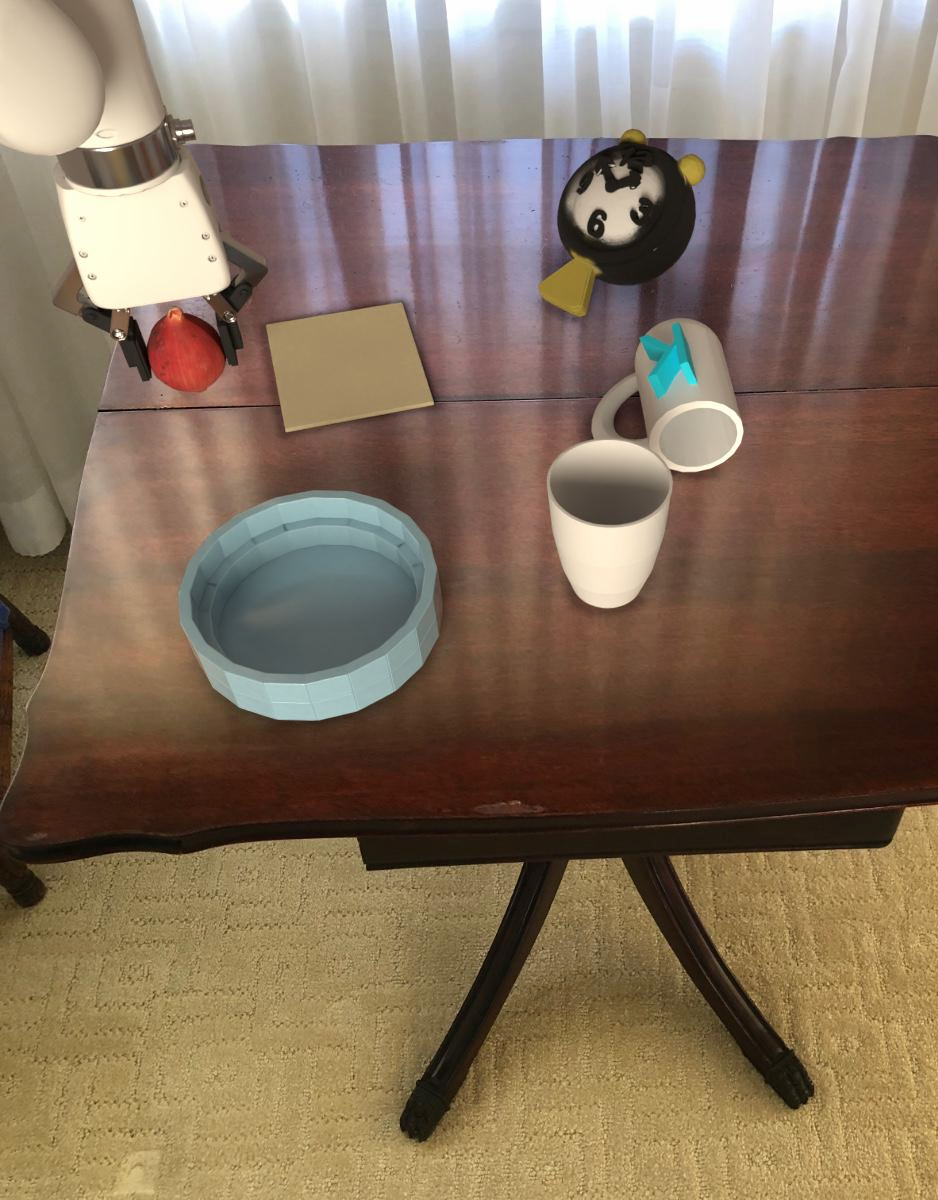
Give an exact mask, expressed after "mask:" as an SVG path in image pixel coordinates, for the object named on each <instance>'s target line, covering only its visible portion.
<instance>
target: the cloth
mask: <svg viewBox="0 0 938 1200" xmlns="http://www.w3.org/2000/svg"><path fill="white" fill-rule="evenodd" d="M265 328H266V333H267V334H266V335H267V339H268V345H269V349H270V357H271V361H272V366H273V372H274V377H275V383H276V388H277V392H278V399H279V404H280V409H281V415H282V419H283V420H282V421H283V426H284V430H285V433H289V432H291V433H292V432H296V431H301V430H307V429H313V428H318V427H322V426H327V425H333V424H339V423H345V422H349V421H355V420H360V419H361V420H362V419H366V418H371V417H377V416H381V415H387V414H388V415H389V414H393V413H398V412H402V411H410V410H415V409H421V408H425V407H431V406H434V405H435V402H434V399H433V398H434V397H433V395H432V392H431V389H430V386H429V382H428V379H427V377H426V373H425V370H424V367H423V363H422V360H421V358H420V354H419V350H418V348H417V345H416V341H415V339H414V335H413V332H412V328H411V326H410V322H409V319H408V316H407V313H406V309H405V307H404V304H403V301H400V302H394V303H388V304H381V305H375V306H369V307H364V308H363V307H362V308H358V309H352V310H346V311H339V312H333V313H329V314H328V313H327V314H322V315H315V316H310V317H309V316H308V317H305V318H298V319H291V320H286V321H279V322H273V323H267V324H265Z"/></svg>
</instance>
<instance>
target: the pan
mask: <svg viewBox="0 0 938 1200" xmlns="http://www.w3.org/2000/svg"><path fill="white" fill-rule="evenodd" d="M441 590H442V589H441V584H440V578H439V570H438V566H437V562H436V558H435V555H434V552H433V548H432V544H431V541H430V539H429V538H428V536H426V534H425V533H424V532H423V530H422V529H421V528H420V527H419V526H418V524H417V523H416V521H415V520H414V519H413V518H412V517H411V516H410V515H408V514H407V513H405V512H403V511H402V510H400V509H398V508H397V507H395V506H394V505H392V504H391V503H388V502H387V501H385V500H383V499H381V498H377V497H375V496H370V495H367V494H362V493H359V492H356V491H351V490H330V489H329V490H327V489H326V490H324V489H321V490H320V489H312V490H306V491H301V492H296V493H290V494H286V495H281V496H276V497H272V498H270V499H268V500H265V501H263V502H261V503H258V504H255V505H254V506H252V507H251V506H250V507H249V508H247V509H244V510H242V511H240V512H238V513H237V514H235V515H234V516H233V517H231V518H230V519H229V520H227V521H226V522H225V523H223V524H222V525H220V526H219V527H218V528H217V529H215V530H214V531H212V532H211V533H210V534H209V535H208V536H206V539H204V540H203V542H202V544H200V546H199V547H198V549H197V550H196V551H195V552H194V554H193V555H192V557H191V558H190V559H189V560H188V562H187V564H186V568H185V570H184V573H183V576H182V579H181V582H180V584H179V588H178V591H177V601H178V613H179V614H178V615H179V624H180V626H181V629H182V631H183V633H184V635H185V638H186V639H187V641H188V645H189V647H190V649H191V650H192V653H193V655H194V657H195V659H196V661H197V663H198V665H199V666H200V668H201V671H202V672H203V673H204V675H205V677H206V679H207V681H208V682H209V684H210V686H211V687H212V689H214V690H215V691H217V693H219V694H220V695H222V696H223V697H224V698H225V699H227V700H228V701H230V702H231V703H233V704H234V705H235V706H236V707H237V708H239V709H243V710H245V711H248V712H251V713H254V714H257V715H260V716H263V717H267V718H269V719H273V720H276V721H277V720H278V721H312V722H313V721H314V722H315V721H322V720H326V719H332V718H334V717H339V716H343V715H347V714H351V713H356V712H359V711H361V710H363V709H365V708H367V707H369V706H370V705H372V704H374V703H377V702H378V701H380V700H382V699H384V698H386V697H388V696H389V695H392V694H393V693H394V692H396V691H398V689H400V688H401V687H402V686H403V685H404V684H405V683H406V682H407V681H408V680H409V679H410V678H411V677H413V676H414V674H416V673H417V672H418V671H419V670H420V669H421V668H422V667H423V666H424V664H425V662H426V660H427V659H428V656H429V655H430V653H431V651H432V649H433V648H434V646H435V644H436V642H437V640H438V638H439V637H440V631H441V624H442V618H443V617H442V616H443V609H444V604H443V597H442V596H443V595H442V591H441Z"/></svg>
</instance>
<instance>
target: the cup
mask: <svg viewBox="0 0 938 1200" xmlns="http://www.w3.org/2000/svg"><path fill="white" fill-rule="evenodd" d="M625 439H626V438H625ZM625 439H618V438H600V439H594V438H593V439H589V440H588V439H587V440H585V441H584V440H583V441H581V442H579V443H576V444H574V445H572V446H570V447H568V448H567V449H565V450H564V451H563V452H562V453H560V454H559V455H558V456H557V457H556V458H555V459H554V461H553V462H552V463H551V465H550V467H549V469H548V472H547V476H546V490H547V499H548V506H549V514H550V523H551V531H552V535H553V536H552V537H553V538H554V542H555V546H556V548H557V553H558V557H559V560H560V561H559V562H560V565H561V568H562V570H563V572H564V574H565V576H566V577H567V580H568V582H569V583H570V586H571V587H572V589H573V591H574V593H575V595H576V596H577V597H578V598H579V599H580V600H582V601H583V602H584V603H586V604H588V605H589V606H593V607H595V608H602V609H614V608H619V607H622V606H626V605H627V604H630V603H631V602H632V601H634V599H635V598H636V597H637V596H638V595H639V593H640V592H641V590H642V588H643V587H644V586H645V583H646V582H647V580H648V579H649V577H650V575H651V574H652V571H653V569H654V567H655V564H656V560H657V557H658V554H659V553H660V549H661V545H662V543H663V539H664V536H665V532H666V527H667V522H668V516H669V510H670V504H671V498H672V493H673V488H674V487H673V486H674V481H673V475H672V472H671V469H669V467H668V466H667V464H666V463H665V461H664V460H663V459H662V458H661V457H660V456H659V455H658V454H657V453H655V452H654V451H652V450H651V449H649V448H648V447H646V446H644V445H641V444H639V443H636V442H633V441H629V440H625Z"/></svg>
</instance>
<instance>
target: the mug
mask: <svg viewBox="0 0 938 1200" xmlns="http://www.w3.org/2000/svg"><path fill="white" fill-rule="evenodd" d="M638 339H639V340H640V341H639V343H638V346H637V349H636V352H635V355H634V372H633V373H631V374H629V375H628V376H627V375H626V376H625V377H624V378H623V379H621V380H620V381H618V382H617V383H616V384H614V385H613V386H612V387H611V388H610V389H609V390H608V391H607V392H606V393H605V394H604V395H603V396H602V398H601V400H600V401H599V402H598V404H597V406H596V407H595V410H594V412H593V416H592V418H591V434H592V437H593V439H600V438H618V439H625V440H629V441H633V442H636V443H639V444H641V445H644V446H646V447H648V448H649V449H651V450H652V451H654V452H655V453H657V454H658V455H659V456H660V457H661V458H662V459H663V460H664V461H665V463H666V464H667V466H668V467H669V469H670V470H673V471H677V472H681V473H697V472H701V471H706V470H710V469H712V468H715V467H717V466H719V465H721V464H723V463H725V462H726V461H727V460H728V459H729V458H731V457H732V456H733V455H734V454H735V453H736V451H737V449H738V448H739V447H740V445H741V444H742V440H743V436H744V427H743V423H742V422H743V421H742V418H741V414H740V410H739V407H738V402H737V397H736V395H735V392H734V387H733V383H732V379H731V375H730V371H729V368H728V364H727V361H726V360H727V359H726V357H725V353H724V350H723V345H722V343H721V341H720V338H719V337H718V335H717V334H716V333H715V332H714V331H713V330H712V329H711V328H710V327H709V326H707V325H706V324H704V323H702V322H701V321H698V320H695V319H692V318H686V317H676V318H670V319H667V320H664V321H661V322H660V323H657V324H656V325H654V326H653V327H651V328H650V329H649V330H648V331H647V332H646V333H645V335H643V336H639V337H638ZM637 392H639V397H640V398H639V399H640V403H641V409H642V414H643V419H644V426H645V431H646V437H644V438H637V439H636V438H635V439H632V438H631V439H630V438H625V437H623V436H621V435H619V433H617V431H616V429H615V426H614V419H615V416H616V414H617V412H618V410H619V408H620V407H621V405H623V403H624V402H625V401H626V400H627V399H628V398H629V397H631V396H633V395H634V394H635V393H637Z"/></svg>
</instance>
